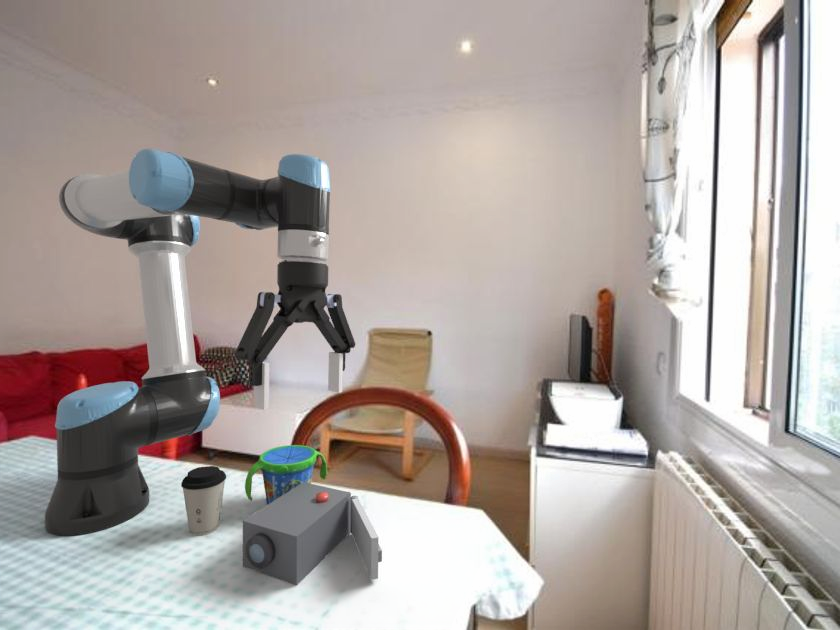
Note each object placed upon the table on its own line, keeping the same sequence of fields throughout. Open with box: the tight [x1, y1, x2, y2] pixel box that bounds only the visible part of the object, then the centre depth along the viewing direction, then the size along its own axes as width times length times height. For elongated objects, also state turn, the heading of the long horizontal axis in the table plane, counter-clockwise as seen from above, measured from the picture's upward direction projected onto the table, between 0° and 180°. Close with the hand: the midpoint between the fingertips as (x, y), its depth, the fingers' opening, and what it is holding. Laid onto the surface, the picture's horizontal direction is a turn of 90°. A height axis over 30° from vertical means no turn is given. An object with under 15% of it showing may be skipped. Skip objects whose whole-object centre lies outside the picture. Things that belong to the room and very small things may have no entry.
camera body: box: [242, 482, 352, 586], centre depth 64 cm, size 10×15×8 cm, turn 158°
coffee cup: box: [180, 465, 227, 537], centre depth 70 cm, size 7×7×10 cm
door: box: [349, 495, 383, 581], centre depth 63 cm, size 2×13×6 cm, turn 22°
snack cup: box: [244, 444, 328, 506], centre depth 78 cm, size 16×10×10 cm
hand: (301, 398), depth 62 cm, fingers open, 13 cm apart
